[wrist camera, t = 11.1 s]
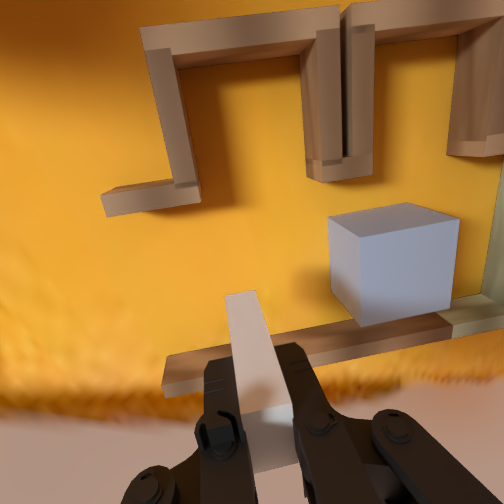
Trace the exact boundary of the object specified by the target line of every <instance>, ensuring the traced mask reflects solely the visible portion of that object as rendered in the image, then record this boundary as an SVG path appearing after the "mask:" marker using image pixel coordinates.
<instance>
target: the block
mask: <svg viewBox="0 0 504 504" xmlns="http://www.w3.org/2000/svg"><path fill="white" fill-rule="evenodd" d="M327 221H328V239H329V257H330V276H331V291H332V292H333V294H334V295H335V296H336V297H337V298H338V300H339V301H340V302H341V303H342V305H343V306H344V307H345V308H346V309H347V311H348V312H349V313H350V314H351V316H352V317H353V318H354V319H355V321H356V322H357V323H358V324H359V325H360V327H364V326H369V325H374V324H378V323H383V322H388V321H392V320H397V319H402V318H407V317H411V316H416V315H421V314H425V313H430V312H435V311H440V310H444V309H449V308H450V302H451V293H452V285H453V276H454V267H455V259H456V250H457V241H458V233H459V224H460V219H459V218H456V217H452V216H449V215H446V214H443V213H440V212H436V211H433V210H430V209H427V208H423V207H420V206H417V205H414V204H411V203H401V204H396V205H390V206H385V207H379V208H374V209H368V210H363V211H357V212H352V213H346V214H341V215H336V216H330V217H327Z"/></svg>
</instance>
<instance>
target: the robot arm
mask: <svg viewBox="0 0 504 504" xmlns="http://www.w3.org/2000/svg"><path fill="white" fill-rule="evenodd" d="M225 302H226V309H227V317H228V324H229V332H230V339H231V347H232V354H233V356H229V357H224V358H219V359H215V360H210V361H208V364H207V366H206V368H205V370H204V414H203V415H202V416H201V417H200V419H199V420H198V422H197V424H196V427H195V432H194V434H195V437H196V440H197V443H198V449H197V450H196V451H195V452H194V453H193V455H191V456H190V457H189V458H188V459H186V460H185V461H183V462H182V463H180V464H178V465H177V466H175V467H173V468H172V469H170V470H169V469H168V468H167V467H164V466H160V465H157V466H153V467H149V468H147V469H145V470H144V471H142V472H140V473H139V474H138V475H137V476H136V478H134V480H132V481H131V483H130V485H129V487H128V488H127V490H126V492H125V494H124V497H123V499H122V502H121V504H258V497H257V492H256V487H255V481H254V474H255V473H259V472H263V471H267V470H271V469H275V468H279V467H283V466H287V465H291V464H295V463H298V460H299V463H300V467H301V470H302V476H303V486H304V496H305V498H306V497H307V498H308V502H309V504H503V503H502V502H501V501H499V500H498V499H497V498H496V497H495V496H494V495H493V494H492V493H491V492H490V491H489V490H488V489H487V488H486V487H485V486H484V485H483V484H482V483H481V482H480V481H478V479H476V478H475V477H474V476H473V475H472V474H471V473H470V472H469V471H468V470H467V469H466V468H465V467H464V466H463V465H462V464H461V463H460V462H459V461H458V460H456V459H455V458H454V457H453V456H452V455H451V454H450V453H449V452H448V451H447V450H446V449H445V448H444V447H443V446H442V445H441V444H440V443H439V442H438V441H437V440H436V439H434V438H433V437H432V436H431V435H430V434H429V433H428V432H427V431H426V430H425V429H424V428H423V427H422V426H421V425H420V424H419V423H418V422H417V421H416V420H414V419H413V418H412V417H410V416H409V415H408V414H406V413H404V412H401V411H398V410H393V409H386V410H382V411H379V412H378V413H377V414H376V415H375V416H374V417H373V420H364V419H354V418H349V417H346V416H344V415H341V414H340V413H338V412H337V411H335V410H334V409H333V408H332V407H331V406H330V404H329V402H328V401H327V399H326V397H325V394H324V392H323V390H322V388H321V386H320V384H319V381H318V379H317V377H316V375H315V373H314V371H313V369H312V366H311V364H310V362H309V360H308V357H307V355H306V353H305V351H304V349H303V348H302V347H300V346H299V345H298V344H297V343H296V342H291V343H286V344H282V345H277V346H273V344H272V341H271V337H270V334H269V331H268V328H267V325H266V322H265V319H264V316H263V313H262V310H261V307H260V304H259V301H258V298H257V295H256V292H255V290H252V291H247V292H242V293H237V294H231V295H226V296H225Z"/></svg>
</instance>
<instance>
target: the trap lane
mask: <svg viewBox="0 0 504 504" xmlns="http://www.w3.org/2000/svg"><path fill="white" fill-rule="evenodd" d="M139 30H140V35H141V39H142V44H143V48H144V52H145V57H146V61H147V66H148V70H149V74H150V79H151V83H152V88H153V92H154V96H155V101H156V105H157V110H158V114H159V118H160V123H161V127H162V132H163V136H164V141H165V145H166V149H167V154H168V158H169V163H170V167H171V171H172V176H173V179H166V180H160V181H153V182H146V183H140V184H133V185H127V186H120V187H116V188H114V189H112V190H110V191H108V192H106V193H104V194H102V195H100V197H101V200H102V203H103V207H104V210H105V213H106V216H107V217H112V216H119V215H125V214H131V213H137V212H144V211H150V210H156V209H162V208H169V207H175V206H181V205H188V204H194V203H200V202H201V198H202V190H201V185H200V180H199V175H198V170H197V165H196V159H195V154H194V149H193V144H192V139H191V134H190V129H189V124H188V118H187V113H186V108H185V103H184V98H183V93H182V88H181V83H180V77H179V72H178V69H186V68H194V67H202V66H210V65H218V64H227V63H235V62H243V61H251V60H259V59H267V58H275V57H283V56H291V55H299V65H300V80H301V96H302V111H303V127H304V142H305V158H306V174H307V177H308V178H311V179H314V180H316V181H319V182H322V183H325V182H331V181H338V180H344V179H350V178H356V177H363V176H369V175H373V118H374V54H375V45H380V44H388V43H396V42H405V41H413V40H421V39H429V38H437V37H445V36H453V35H459V37H458V47H457V56H456V66H455V76H454V86H453V95H452V105H451V115H450V125H449V134H448V144H447V154H446V155H456V156H472V157H488V156H494V155H500V154H504V0H380V1H371V2H362V3H353V4H351V5H349V6H348V7H347V8H346V9H345V10H344V11H343V12H342V13H341V14H339V5H335V6H326V7H317V8H308V9H299V10H290V11H281V12H272V13H263V14H254V15H245V16H236V17H227V18H218V19H209V20H200V21H191V22H182V23H173V24H164V25H155V26H146V27H139ZM502 328H504V159H503V165H502V171H501V177H500V183H499V188H498V194H497V200H496V206H495V212H494V218H493V224H492V229H491V235H490V241H489V247H488V253H487V259H486V265H485V270H484V276H483V282H482V288H481V294H476V295H471V296H466V297H461V298H456V299H451V302H450V308H449V309H444V310H440V311H435V312H430V313H425V314H421V315H416V316H411V317H407V318H402V319H397V320H392V321H388V322H383V323H378V324H374V325H369V326H364V327H360V325H359V324H358V323H357V322H356V321H355V319H352V320H347V321H342V322H336V323H331V324H326V325H321V326H316V327H311V328H306V329H301V330H296V331H291V332H286V333H281V334H276V335H271V336H270V337H271V341H272V344H273V346H277V345H282V344H286V343H291V342H296V343H297V344H298V345H299V346H300V347H302V348H303V349H304V351H305V353H306V355H307V357H308V360H309V362H310V364H311V366H312V368H313V367H318V366H323V365H328V364H332V363H337V362H342V361H347V360H351V359H356V358H361V357H366V356H370V355H375V354H380V353H385V352H389V351H394V350H399V349H404V348H408V347H413V346H418V345H423V344H428V343H432V342H437V341H442V340H447V339H454V338H459V337H464V336H468V335H473V334H478V333H483V332H488V331H492V330H497V329H502ZM229 356H233V354H232V347H231V344H226V345H221V346H216V347H211V348H206V349H201V350H196V351H191V352H186V353H181V354H176V355H171V356H167V358H166V364H165V369H164V374H163V379H162V384H161V386H162V390H163V393H164V396H165V399H166V398H171V397H175V396H180V395H185V394H190V393H194V392H199V391H204V370H205V368H206V366H207V364H208V361H210V360H215V359H219V358H224V357H229Z"/></svg>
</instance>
